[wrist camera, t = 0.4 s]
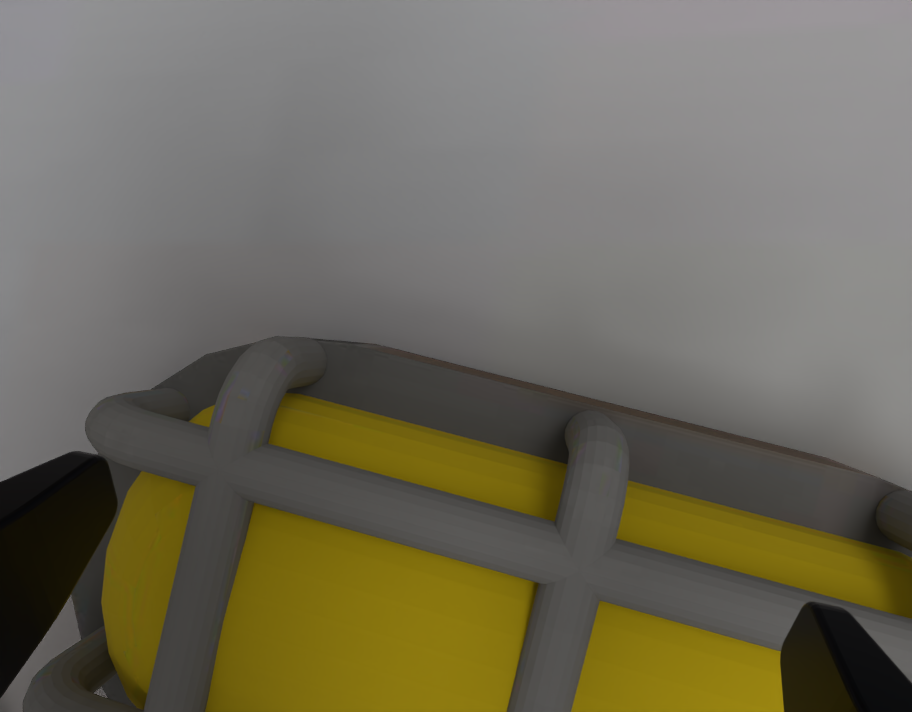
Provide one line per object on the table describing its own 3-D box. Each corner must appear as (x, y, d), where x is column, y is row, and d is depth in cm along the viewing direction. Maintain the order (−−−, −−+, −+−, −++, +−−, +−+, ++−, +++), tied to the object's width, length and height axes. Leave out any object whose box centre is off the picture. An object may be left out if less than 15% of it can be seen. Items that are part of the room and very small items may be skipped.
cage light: (19, 272, 16) (1367, 615, 13) (185, 295, 24) (1056, 515, 21) (-102, 833, 17) (1160, 1281, 14) (98, 678, 25) (932, 943, 22)
